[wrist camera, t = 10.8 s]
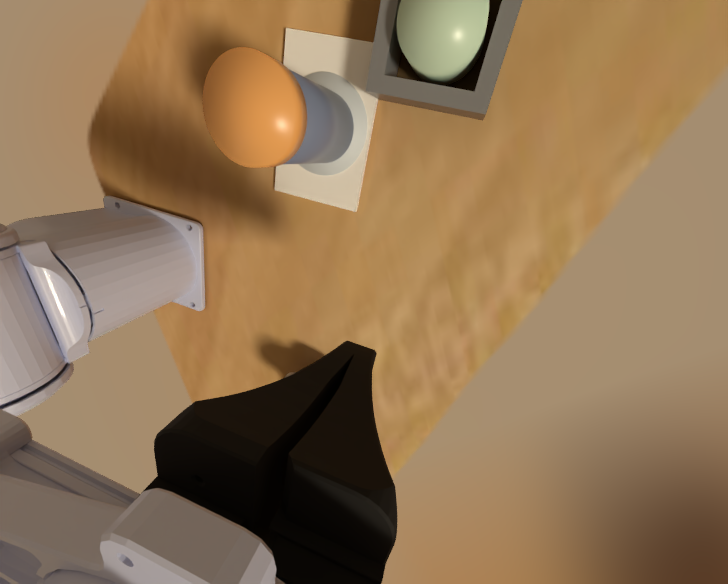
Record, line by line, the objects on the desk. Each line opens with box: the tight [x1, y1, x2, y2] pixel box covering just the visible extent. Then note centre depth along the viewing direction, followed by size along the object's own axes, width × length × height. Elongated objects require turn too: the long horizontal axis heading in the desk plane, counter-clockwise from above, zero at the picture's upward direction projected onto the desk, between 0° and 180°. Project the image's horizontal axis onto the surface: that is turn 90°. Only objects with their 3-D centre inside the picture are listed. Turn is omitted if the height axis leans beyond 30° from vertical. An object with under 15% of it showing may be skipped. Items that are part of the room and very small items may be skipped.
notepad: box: [275, 28, 378, 212], centre depth 19 cm, size 6×9×1 cm, turn 168°
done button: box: [397, 0, 489, 85], centre depth 15 cm, size 4×4×3 cm
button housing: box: [365, 0, 523, 120], centre depth 15 cm, size 6×6×3 cm
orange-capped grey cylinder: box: [203, 47, 354, 168], centre depth 16 cm, size 4×4×8 cm
